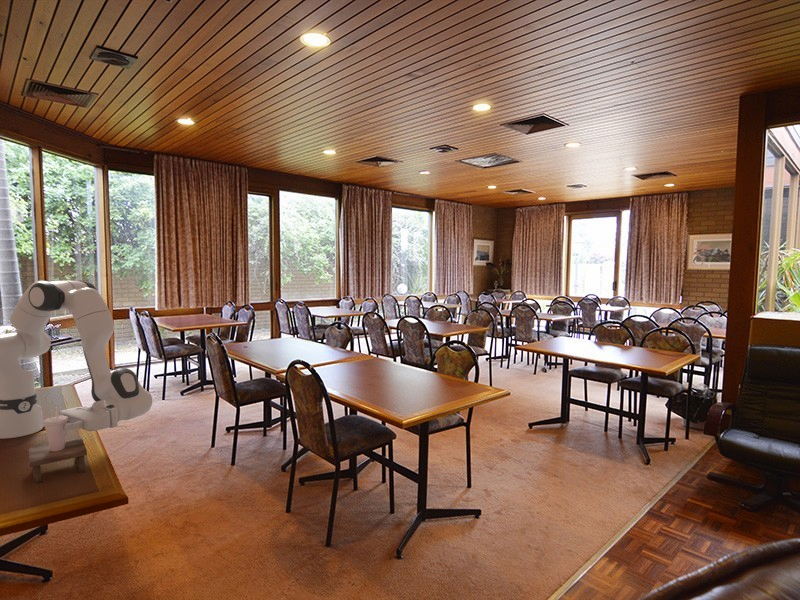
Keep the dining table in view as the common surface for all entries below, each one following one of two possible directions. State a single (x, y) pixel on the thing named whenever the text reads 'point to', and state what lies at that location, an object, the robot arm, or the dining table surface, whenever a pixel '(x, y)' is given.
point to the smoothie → (56, 431)
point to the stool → (57, 456)
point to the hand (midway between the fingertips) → (56, 425)
